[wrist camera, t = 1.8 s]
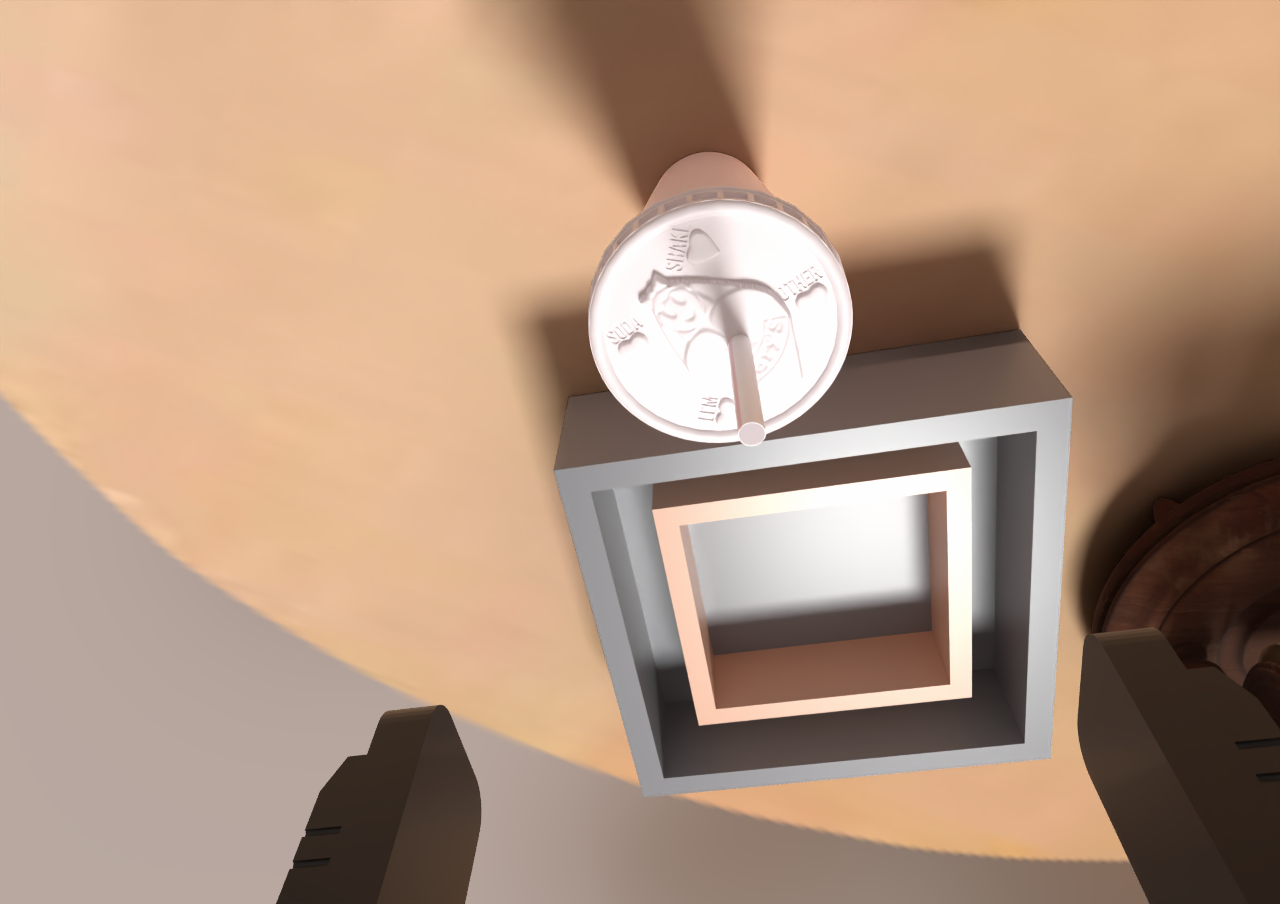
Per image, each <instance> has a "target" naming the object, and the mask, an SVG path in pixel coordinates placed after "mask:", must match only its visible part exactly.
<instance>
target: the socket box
mask: <svg viewBox="0 0 1280 904" xmlns="http://www.w3.org/2000/svg"><path fill="white" fill-rule="evenodd" d="M1072 402H1073V397H1072V396H1071V395H1070V393H1069V392H1068V391H1067V390H1066V388H1065V387H1064V386H1063V384H1062V383H1061V382H1060V380H1059V379H1058V378H1057V377H1056V375H1055V374H1054V373H1053V371H1052V370H1051V369H1050V367H1049V366H1048V365H1047V364H1046V362H1045V361H1044V360H1043V358H1042V357H1041V356H1040V355H1039V353H1038V352H1037V351H1036V349H1035V348H1034V347H1033V345H1032V344H1031V343H1030V342H1029V340H1028V339H1027V338H1026V336H1025V335H1024V334H1023V332H1022V331H1021V330H1013V331H1006V332H1000V333H993V334H986V335H980V336H973V337H966V338H960V339H953V340H946V341H940V342H933V343H926V344H920V345H913V346H906V347H900V348H893V349H886V350H880V351H873V352H866V353H860V354H853V355H846V357H845V360H844V362H843V364H842V367H841V369H840V371H839V373H838V374H837V376H836V378H835V380H834V381H833V383H832V384H831V385H830V387H829V388H828V390H827V391H826V392H825V393H824V394H823V396H822V397H821V398H820V399H819V400H818V401H817V402H816V403H815V404H814V405H813V406H812V407H811V408H810V409H808V410H807V411H806V412H805V413H803V414H802V415H801V416H800V417H798V418H796V419H795V420H793V421H792V422H790V423H789V424H787V425H785V426H783V427H781V428H779V429H777V430H775V431H772V432H770V433H768V434H766V436H765V439H764V440H763V441H762V442H761V443H760V444H758V445H756V446H747V445H744V444H743V443H742V442H741V441H736V442H725V443H707V442H697V441H691V440H686V439H682V438H678V437H675V436H672V435H669V434H666V433H664V432H661V431H659V430H657V429H655V428H653V427H651V426H649V425H648V424H646V423H644V422H643V421H641V420H640V419H638V418H637V417H636V416H634V415H633V414H632V413H630V412H629V411H628V410H627V409H626V408H625V407H624V406H623V405H622V404H621V403H620V402H619V401H618V400H617V399H616V398H615V397H614V395H613V394H612V393H611V391H606V392H600V393H593V394H586V395H580V396H573V397H569V399H568V404H567V409H566V414H565V419H564V423H563V428H562V433H561V438H560V443H559V448H558V452H557V457H556V462H555V467H554V473H555V477H556V481H557V484H558V488H559V492H560V495H561V499H562V503H563V506H564V510H565V513H566V517H567V521H568V524H569V528H570V532H571V535H572V539H573V542H574V546H575V550H576V553H577V557H578V561H579V564H580V568H581V571H582V575H583V579H584V582H585V586H586V590H587V593H588V597H589V600H590V604H591V608H592V611H593V615H594V619H595V622H596V626H597V629H598V633H599V637H600V640H601V644H602V648H603V651H604V655H605V659H606V662H607V666H608V669H609V673H610V677H611V680H612V684H613V688H614V691H615V695H616V698H617V702H618V706H619V709H620V713H621V717H622V720H623V724H624V727H625V731H626V735H627V738H628V742H629V746H630V749H631V753H632V756H633V760H634V764H635V767H636V771H637V775H638V778H639V782H640V785H641V789H642V792H643V796H644V797H652V796H662V795H673V794H683V793H694V792H704V791H715V790H725V789H736V788H746V787H757V786H767V785H778V784H788V783H799V782H809V781H820V780H830V779H841V778H851V777H862V776H873V775H883V774H894V773H904V772H915V771H925V770H936V769H946V768H957V767H967V766H978V765H988V764H999V763H1009V762H1020V761H1030V760H1041V759H1051V746H1052V730H1053V714H1054V697H1055V681H1056V664H1057V648H1058V632H1059V615H1060V599H1061V582H1062V566H1063V549H1064V533H1065V517H1066V500H1067V484H1068V467H1069V451H1070V435H1071V418H1072Z"/></svg>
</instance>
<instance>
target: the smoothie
mask: <svg viewBox="0 0 1280 904" xmlns="http://www.w3.org/2000/svg"><path fill="white" fill-rule="evenodd" d="M588 318H589V322H588V324H589V339H590V346H591V350H592V354H593V358H594V361H595V363H596V366H597V369H598V371H599V373H600V375H601V377H602V379H603V381H604V382H605V384H606V385H607V387H608V389H609V390H610V391H611V393H612V394H613V395H614V397H615V398H616V399H617V400H618V401H619V402H620V403H621V404H622V405H623V406H624V407H625V408H626V409H627V410H628V411H629V412H630V413H632V414H633V415H634V416H636V417H637V418H638V419H640V420H641V421H643V422H644V423H646V424H648V425H649V426H651V427H653V428H655V429H657V430H659V431H661V432H664V433H666V434H669V435H672V436H675V437H678V438H682V439H686V440H691V441H697V442H707V443H725V442H736V441H741V442H742V443H743V444H744V445H747V446H756V445H758V444H760V443H761V442H762V441H763V440H764V439H765V436H766V434H768V433H770V432H772V431H775V430H777V429H779V428H781V427H783V426H785V425H787V424H789V423H790V422H792V421H793V420H795V419H796V418H798V417H800V416H801V415H802V414H803V413H805V412H806V411H807V410H808V409H810V408H811V407H812V406H813V405H814V404H815V403H816V402H817V401H818V400H819V399H820V398H821V397H822V396H823V394H824V393H825V392H826V391H827V390H828V388H829V387H830V385H831V384H832V383H833V381H834V380H835V378H836V376H837V374H838V373H839V371H840V369H841V367H842V364H843V362H844V360H845V357H846V354H847V351H848V348H849V344H850V340H851V334H852V326H853V311H852V301H851V296H850V291H849V286H848V282H847V279H846V276H845V272H844V269H843V266H842V262H841V259H840V256H839V254H838V253H837V251H836V250H835V248H834V247H833V245H832V244H831V242H830V241H829V239H828V238H827V236H826V235H825V233H824V232H823V230H822V229H821V228H820V227H819V226H818V225H817V224H816V223H815V222H813V221H812V220H811V219H810V218H809V217H807V216H806V215H805V214H804V213H803V212H801V211H800V210H799V209H798V208H797V207H796V206H794V205H792V204H790V203H788V202H785V201H783V200H781V199H779V198H776V197H774V195H773V194H772V193H771V192H770V191H769V190H768V189H767V188H766V186H765V185H764V184H763V183H762V182H761V181H760V180H759V179H758V177H757V176H756V175H755V174H754V173H753V172H752V171H751V170H750V169H749V168H748V167H747V166H746V165H745V164H744V163H742V162H741V161H740V160H738V159H736V158H734V157H732V156H730V155H727V154H723V153H718V152H701V153H696V154H692V155H689V156H687V157H685V158H683V159H681V160H679V161H678V162H676V163H675V164H673V165H672V166H671V167H670V168H669V169H668V170H667V171H666V172H665V173H664V174H663V176H662V177H661V179H660V180H659V182H658V184H657V186H656V187H655V189H654V191H653V193H652V194H651V196H650V198H649V200H648V202H647V203H646V205H645V207H644V209H643V211H642V212H641V213H640V214H639V215H637V216H636V217H635V218H633V219H632V220H631V221H629V222H628V223H626V225H625V226H624V227H623V228H622V230H621V231H620V232H619V233H618V235H617V236H616V237H615V238H614V240H613V241H612V242H611V243H610V245H609V246H608V247H607V248H606V250H605V251H604V253H603V256H602V258H601V261H600V263H599V265H598V268H597V270H596V272H595V275H594V277H593V279H592V283H591V291H590V299H589V307H588Z"/></svg>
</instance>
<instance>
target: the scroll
mask: <svg viewBox="0 0 1280 904" xmlns="http://www.w3.org/2000/svg"><path fill="white" fill-rule="evenodd" d="M1153 515H1154V519H1155V522H1156V523H1155V524H1154V525H1152V526H1151V527H1150V528H1149V529H1148V530H1147V531H1146V532H1145V533H1144V534H1143V535H1142V536H1141V537H1140V538H1139V539H1138V540H1137V541H1136V542H1135V543H1134V544H1133V545H1132V547H1131V548H1130V549H1129V550H1128V551H1127V552H1126V554H1125V555H1124V556H1123V557H1122V559H1121V560H1120V562H1119V563H1118V564H1117V566H1116V567H1115V569H1114V570H1113V572H1112V573H1111V575H1110V577H1109V579H1108V580H1107V582H1106V584H1105V586H1104V588H1103V591H1102V593H1101V595H1100V597H1099V600H1098V603H1097V606H1096V609H1095V613H1094V618H1093V623H1092V633H1091V634H1097V633H1106V632H1114V631H1123V630H1132V629H1141V628H1150V627H1154V628H1157V629H1158V630H1160V631H1161V633H1162V634H1163V635H1164V636H1165V637H1166V639H1167V640H1168V642H1169V643H1170V645H1171V646H1172V648H1173V649H1174V651H1175V652H1176V654H1177V655H1178V657H1179V659H1180V660H1181V662H1182V663H1183V665H1184V666H1185V668H1186V669H1197V668H1206V667H1215V668H1217V669H1218V670H1220V671H1221V672H1222V673H1224V674H1225V675H1226V676H1228V677H1229V678H1230V679H1232V680H1233V681H1235V682H1236V683H1237V684H1239V685H1240V686H1241V687H1243V688H1244V689H1246V690H1247V691H1248V692H1250V693H1251V694H1252V695H1254V696H1255V697H1257V698H1258V700H1259V701H1260V702H1261V704H1262V705H1263V707H1264V708H1265V709H1266V711H1267V712H1268V714H1269V715H1270V716H1271V718H1272V719H1273V720H1274V722H1275V723H1276V725H1277V726H1278V727H1279V729H1280V458H1277V459H1274V460H1270V461H1267V462H1264V463H1261V464H1258V465H1255V466H1253V467H1250V468H1247V469H1245V470H1242V471H1240V472H1237V473H1235V474H1233V475H1231V476H1229V477H1226V478H1224V479H1222V480H1220V481H1218V482H1216V483H1214V484H1212V485H1210V486H1209V487H1207V488H1205V489H1203V490H1201V491H1199V492H1198V493H1196V494H1195V495H1193V496H1191V497H1190V498H1188V499H1187V500H1185V501H1184V502H1182V503H1181V504H1178V503H1176V502H1174V501H1171V500H1169V499H1166V498H1161V499H1158V500H1157V501H1155V503H1154V505H1153Z"/></svg>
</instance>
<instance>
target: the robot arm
mask: <svg viewBox="0 0 1280 904" xmlns="http://www.w3.org/2000/svg"><path fill="white" fill-rule="evenodd" d="M1078 736H1079V742H1080V747H1081V752H1082V755H1083V759H1084V762H1085V765H1086V768H1087V771H1088V773H1089V775H1090V778H1091V780H1092V782H1093V784H1094V786H1095V788H1096V791H1097V793H1098V795H1099V797H1100V799H1101V801H1102V803H1103V806H1104V808H1105V810H1106V812H1107V814H1108V816H1109V818H1110V821H1111V823H1112V825H1113V827H1114V829H1115V831H1116V833H1117V835H1118V838H1119V840H1120V842H1121V844H1122V846H1123V848H1124V850H1125V853H1126V855H1127V857H1128V859H1129V861H1130V863H1131V865H1132V867H1133V869H1134V872H1135V874H1136V876H1137V878H1138V880H1139V882H1140V884H1141V887H1142V889H1143V891H1144V893H1145V895H1146V897H1147V900H1148V902H1149V904H1280V729H1279V727H1278V726H1277V725H1276V723H1275V722H1274V720H1273V719H1272V718H1271V716H1270V715H1269V714H1268V712H1267V711H1266V709H1265V708H1264V707H1263V705H1262V704H1261V702H1260V701H1259V700H1258V698H1257V697H1255V696H1254V695H1252V694H1251V693H1250V692H1248V691H1247V690H1246V689H1244V688H1243V687H1241V686H1240V685H1239V684H1237V683H1236V682H1235V681H1233V680H1232V679H1230V678H1229V677H1228V676H1226V675H1225V674H1224V673H1222V672H1221V671H1220V670H1218V669H1217V668H1215V667H1206V668H1197V669H1186V668H1185V666H1184V665H1183V663H1182V662H1181V660H1180V659H1179V657H1178V655H1177V654H1176V652H1175V651H1174V649H1173V648H1172V646H1171V645H1170V643H1169V642H1168V640H1167V639H1166V637H1165V636H1164V635H1163V634H1162V633H1161V631H1160V630H1158V629H1157V628H1154V627H1150V628H1141V629H1132V630H1123V631H1114V632H1106V633H1097V634H1089V635H1087V636H1086V638H1085V641H1084V646H1083V657H1082V670H1081V682H1080V695H1079V708H1078ZM480 825H481V798H480V791H479V786H478V782H477V780H476V777H475V774H474V772H473V769H472V767H471V764H470V762H469V759H468V757H467V754H466V752H465V749H464V747H463V745H462V742H461V740H460V737H459V735H458V732H457V730H456V728H455V725H454V722H453V720H452V717H451V715H450V713H449V711H448V710H447V708H446V707H445V706H443V705H436V706H427V707H419V708H410V709H401V710H392V711H387V712H385V713H384V714H383V715H382V717H381V718H380V720H379V723H378V725H377V728H376V731H375V734H374V737H373V739H372V742H371V745H370V748H369V751H368V754H367V755H359V756H350V757H347V759H346V760H345V761H344V762H343V764H342V765H341V766H340V767H339V769H338V770H337V771H336V772H335V774H334V775H333V776H332V777H331V779H330V780H329V781H328V782H327V783H326V785H325V786H324V787H323V788H322V790H321V791H320V793H319V795H318V798H317V801H316V803H315V806H314V808H313V811H312V813H311V816H310V818H309V821H308V824H307V826H306V829H305V831H306V835H305V837H302V839H301V841H300V844H299V847H298V849H297V852H296V854H295V857H294V859H293V863H294V865H293V869H290V870H289V872H288V875H287V877H286V880H285V882H284V885H283V888H282V890H281V893H280V895H279V898H278V900H277V903H276V904H465V900H466V896H467V891H468V886H469V881H470V876H471V871H472V866H473V861H474V857H475V852H476V847H477V842H478V837H479V832H480Z"/></svg>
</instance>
